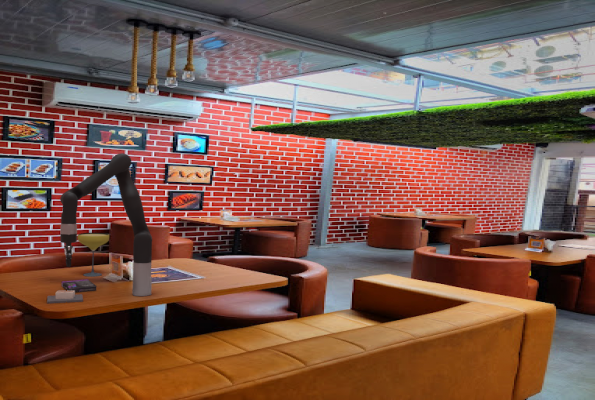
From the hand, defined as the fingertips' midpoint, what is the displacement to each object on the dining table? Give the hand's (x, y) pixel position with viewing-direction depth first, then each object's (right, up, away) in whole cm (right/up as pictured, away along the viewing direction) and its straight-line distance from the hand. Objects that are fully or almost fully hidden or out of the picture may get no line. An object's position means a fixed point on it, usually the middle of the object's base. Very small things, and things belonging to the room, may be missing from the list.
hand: (68, 265), depth 264 cm
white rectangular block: (-1, -16, -1) cm, 16 cm away
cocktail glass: (-12, -14, +62) cm, 65 cm away
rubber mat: (-1, -17, -1) cm, 17 cm away
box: (-5, -16, +25) cm, 31 cm away
